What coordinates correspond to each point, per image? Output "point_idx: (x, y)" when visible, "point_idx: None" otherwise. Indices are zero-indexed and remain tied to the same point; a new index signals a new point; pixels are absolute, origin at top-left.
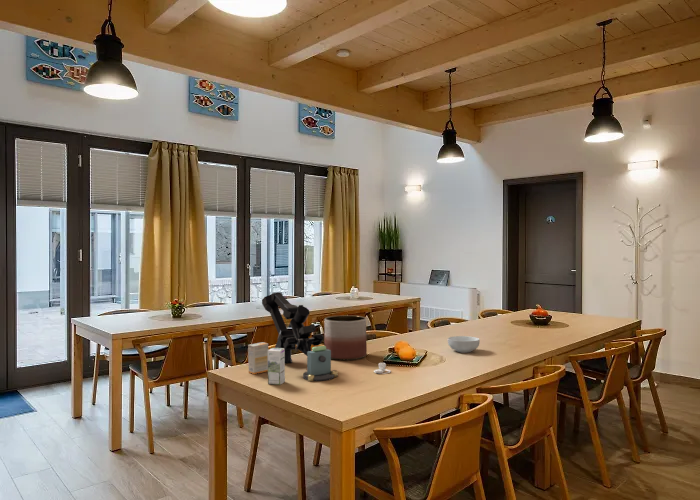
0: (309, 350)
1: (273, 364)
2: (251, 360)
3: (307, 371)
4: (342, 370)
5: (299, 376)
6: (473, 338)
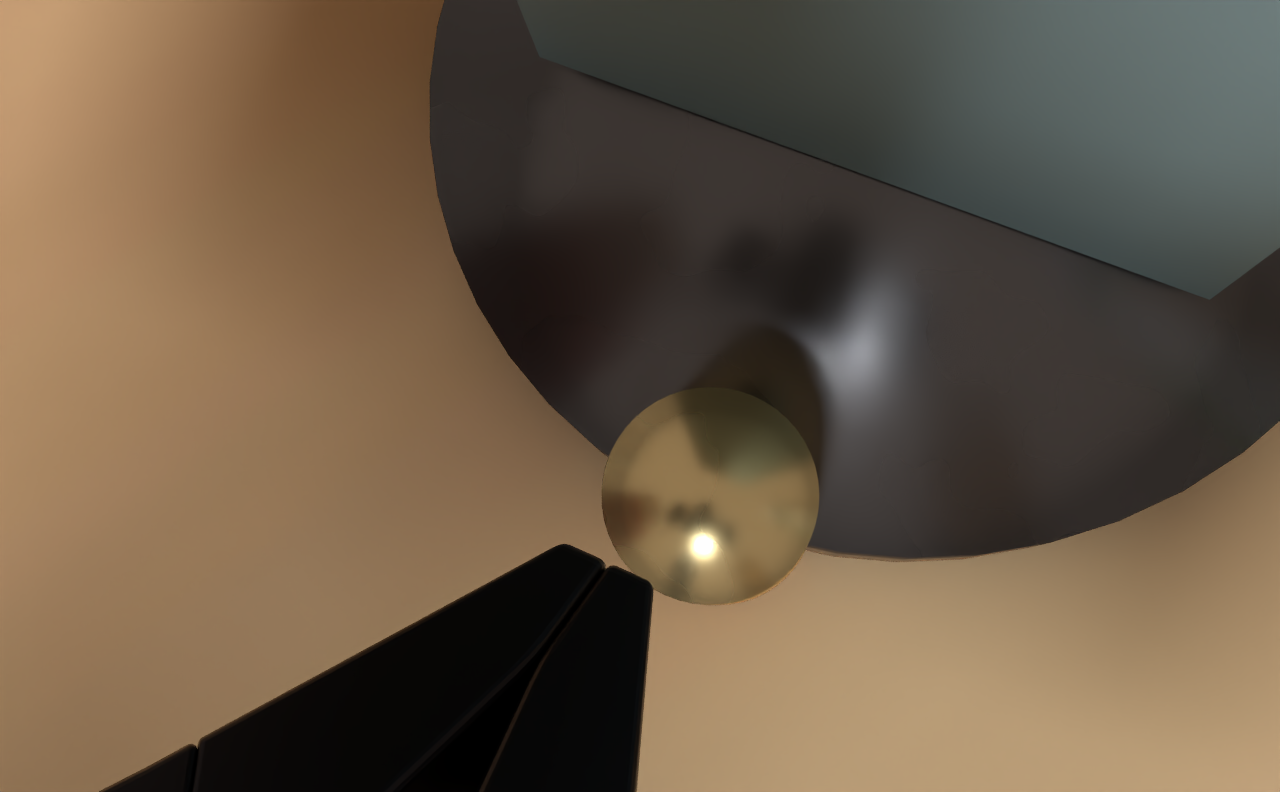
0: (391, 744)
1: None
2: None
3: (1253, 251)
4: (28, 25)
5: (1195, 627)
6: None
